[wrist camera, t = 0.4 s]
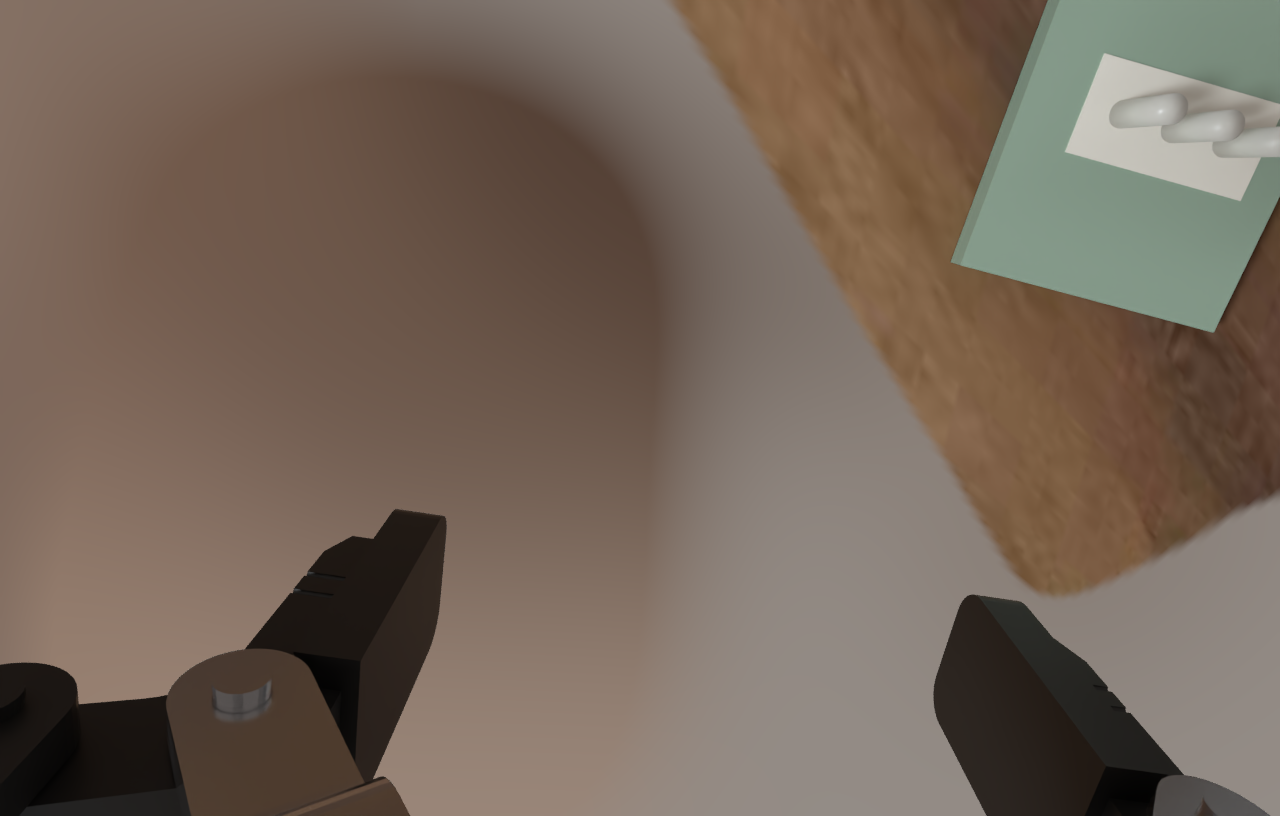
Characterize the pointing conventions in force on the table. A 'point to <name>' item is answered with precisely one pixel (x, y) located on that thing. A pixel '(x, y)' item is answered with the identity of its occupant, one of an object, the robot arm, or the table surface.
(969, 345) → the table surface
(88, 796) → the robot arm
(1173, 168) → the board
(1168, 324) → the table surface
